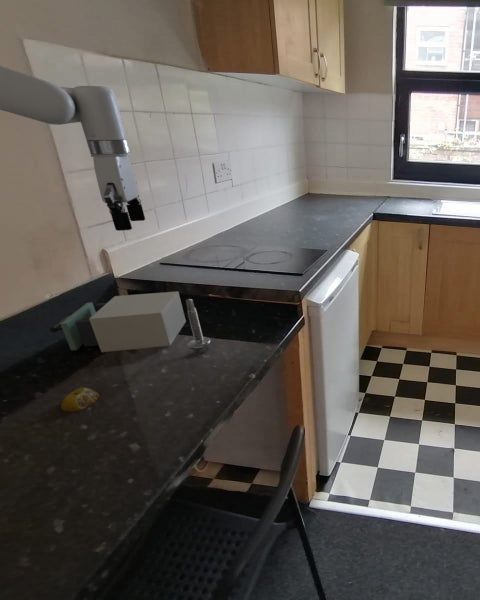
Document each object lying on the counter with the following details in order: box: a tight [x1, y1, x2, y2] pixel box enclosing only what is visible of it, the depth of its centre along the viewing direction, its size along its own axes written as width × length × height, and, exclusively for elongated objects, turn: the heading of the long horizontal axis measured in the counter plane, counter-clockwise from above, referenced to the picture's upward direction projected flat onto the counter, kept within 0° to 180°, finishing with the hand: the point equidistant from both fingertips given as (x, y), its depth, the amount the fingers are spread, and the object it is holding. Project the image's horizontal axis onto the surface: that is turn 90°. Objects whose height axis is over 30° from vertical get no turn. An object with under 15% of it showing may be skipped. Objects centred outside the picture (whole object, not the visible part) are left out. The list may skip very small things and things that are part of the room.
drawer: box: [49, 301, 108, 351], centre depth 95 cm, size 18×11×7 cm, turn 101°
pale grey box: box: [89, 290, 187, 353], centre depth 96 cm, size 15×13×9 cm
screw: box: [185, 298, 212, 354], centre depth 89 cm, size 13×5×5 cm
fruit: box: [60, 386, 100, 412], centre depth 73 cm, size 8×8×4 cm
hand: (131, 225), depth 96 cm, fingers open, 9 cm apart
